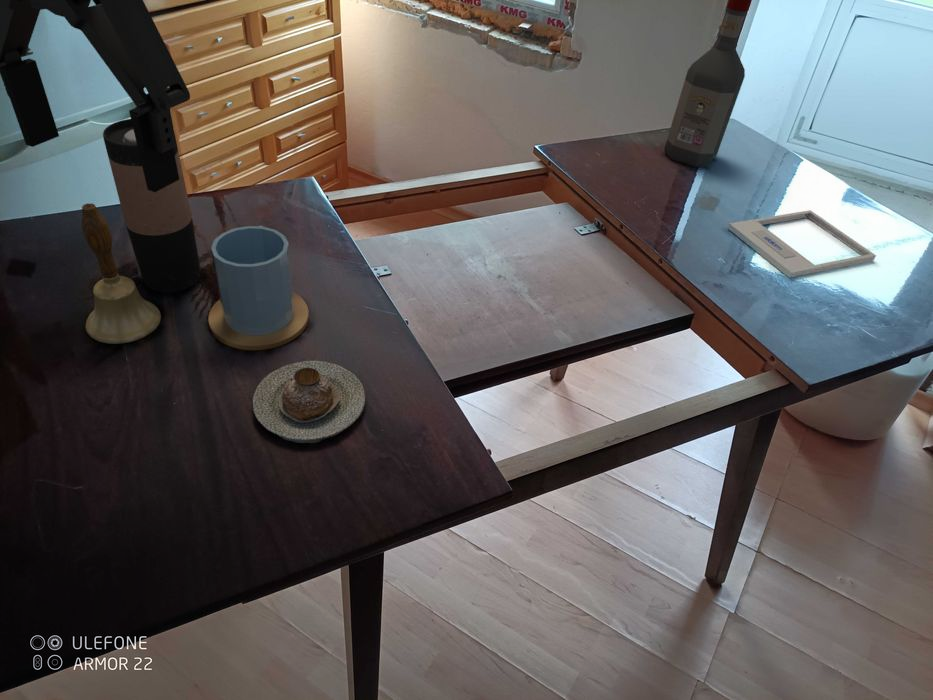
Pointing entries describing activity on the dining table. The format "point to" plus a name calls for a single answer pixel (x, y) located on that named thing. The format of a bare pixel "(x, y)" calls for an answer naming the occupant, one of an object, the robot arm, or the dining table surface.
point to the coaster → (259, 341)
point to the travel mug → (153, 215)
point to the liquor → (709, 95)
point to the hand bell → (114, 291)
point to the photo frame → (786, 255)
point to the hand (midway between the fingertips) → (101, 162)
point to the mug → (254, 279)
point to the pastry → (308, 401)
